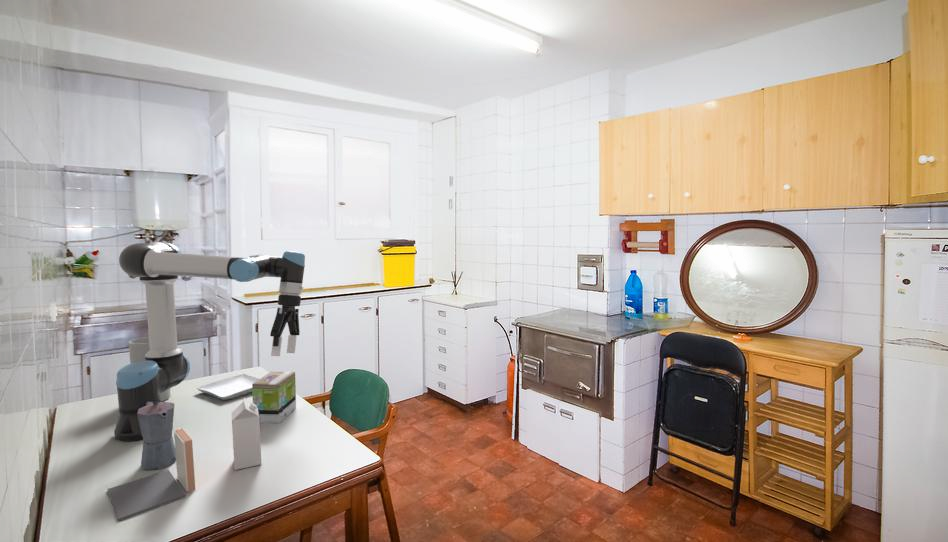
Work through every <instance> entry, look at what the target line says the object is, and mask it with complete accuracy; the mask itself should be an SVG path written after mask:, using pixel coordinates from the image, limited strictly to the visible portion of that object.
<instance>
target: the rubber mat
mask: <svg viewBox="0 0 948 542" xmlns="http://www.w3.org/2000/svg"><path fill="white" fill-rule="evenodd" d="M106 490H108V491H107V494H108V493H109V494H108V497H109V496H110V497H109V499H110V498H111V499H110V502H111V501H112V502H111V504H112V507H113V509H115V510H114V512H115V515H116V517H118V518H117V520H118V522H120V521H123V520H126V519H129V518H131V517H134V516H136V515H140V514H143V513H145V512H148V511H150V510H153V509H157V508H159V507H161V506H165V505H167V504H170V503H173V502H176V501H178V500H181V499H183V498H186V493H185V492H184V491H183V489H182V487H181V485H180V484H179V483H178V481H177V480H176V479H175V477H174V476H173V474H172V472H171V470H170V469H166V470H162V471H160V472H156V473H153V474H150V475H146V476H144V477H141V478H138V479H133V480H132V481H129V482H126V483H122V484H119V485H116V486H113V487H109V488H107V489H106Z"/></svg>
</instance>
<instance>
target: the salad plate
mask: <svg viewBox="0 0 948 542" xmlns="http://www.w3.org/2000/svg"><path fill="white" fill-rule="evenodd" d="M259 379H261V378H259V377H256V376H253V375H249V374H246V373H241V374H237V375H233V376H230V377H226V378H222V379H219V380H216V381H213V382H210V383H206V384H203V385H200V386H197V387H196V390H198V391H199V392H201V393H204V394H207V395H210V396H213V397H215V398H217V399H220V400H222V401H228V400H231V399H235V398H238V397H241V396H244V395H246V394H247V393H248V394H251V393H252V384H253V383H255V382H256V381H258V380H259ZM250 392H251V393H250Z"/></svg>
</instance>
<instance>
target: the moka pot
mask: <svg viewBox="0 0 948 542" xmlns="http://www.w3.org/2000/svg"><path fill="white" fill-rule="evenodd" d="M158 401H159V399H154V400H153V401H152V402H149V401H148V400H146V401H145V403H144V407H142V408H140V409H138V413H137V416H138V421H139V425H140V429H141V434H142V437H143V439H142V440H143V443H142V453H141V461H140V467H141V468H142V469H144V470H145V471H155V470H160V469H165V468H167V467H169V466H170V465H172V464H174V463H175V462H176V452H175V440H174V437H173V427H174V413H175V403H174V402H169V401H162V402H159V403H158Z"/></svg>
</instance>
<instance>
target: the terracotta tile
mask: <svg viewBox="0 0 948 542" xmlns="http://www.w3.org/2000/svg"><path fill="white" fill-rule="evenodd" d="M173 436H174V437H173V439H174V445H175V452H176V461H175V462H176V463H175V464H176V475H177V476H176V477H177V478H176V479H177V480H178V481H179V483H180V484H181V485H182V487H183V489H184V490H185V492H188V493H190V492H193V491H195V490H196V478H195V464H194V462H195V461H194V452H193V451H194V448H193V439H192V438H191V437H190V435H188V433H187V432H186V431H185V430H184V429H183V428H182V427H181V428H178V429H175V430H174V431H173Z"/></svg>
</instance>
